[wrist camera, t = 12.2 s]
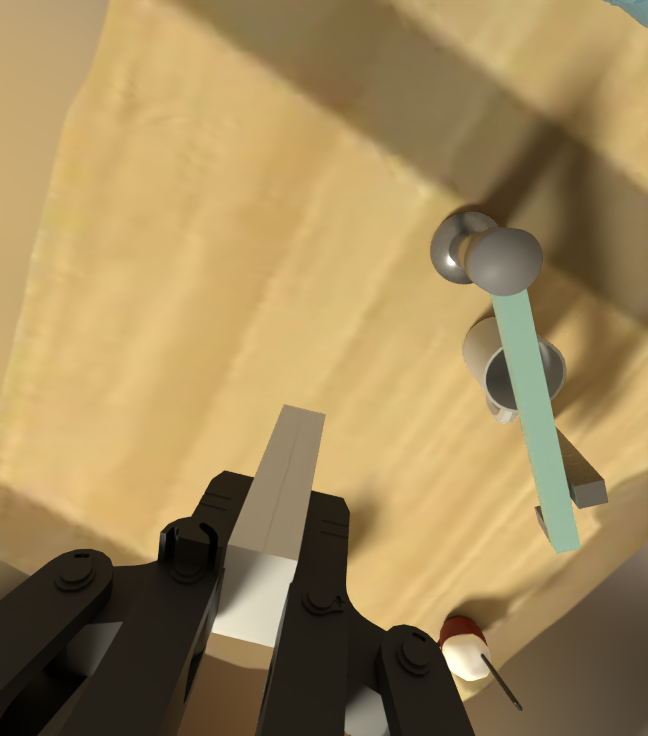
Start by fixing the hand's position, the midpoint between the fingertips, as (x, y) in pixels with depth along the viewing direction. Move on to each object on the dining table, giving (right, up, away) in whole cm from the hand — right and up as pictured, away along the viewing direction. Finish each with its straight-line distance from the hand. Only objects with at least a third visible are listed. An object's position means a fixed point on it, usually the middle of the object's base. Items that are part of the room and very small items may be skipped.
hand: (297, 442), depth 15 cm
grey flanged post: (+15, +15, +28) cm, 35 cm away
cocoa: (+20, -34, +46) cm, 61 cm away
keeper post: (+25, -4, +34) cm, 42 cm away
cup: (+20, +4, +32) cm, 38 cm away
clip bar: (+19, +1, +24) cm, 31 cm away
